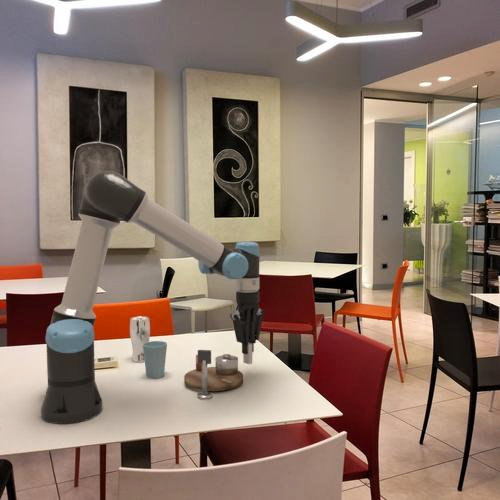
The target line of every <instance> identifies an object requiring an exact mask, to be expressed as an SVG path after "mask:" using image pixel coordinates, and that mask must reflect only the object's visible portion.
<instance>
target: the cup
mask: <svg viewBox="0 0 500 500" xmlns="http://www.w3.org/2000/svg"><path fill="white" fill-rule="evenodd" d="M167 347H168V343H167V342H166V341H162V340H154V341H153V340H151V341H150V340H149V342H146V343H143V352H144V360H145V362H144V367H145V374H146V375H145V376H146V377H147V378H149V379H160V378H162V377H164V376H165V370H166V369H165V367H166V357H167V350H168V349H167Z"/></svg>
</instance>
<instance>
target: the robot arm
mask: <svg viewBox="0 0 500 500" xmlns="http://www.w3.org/2000/svg"><path fill="white" fill-rule="evenodd" d="M77 215H78V217H79V218H80V220H81V225H80V228H79V233H78V237H77V240H76V245H75V249H74V253H73V256H72V260H71V265H70V269H69V272H68V277H67V280H66V284H65V288H64V290H63V291H64V292H63V296H62V300H61V303H60V304H58V305H57V306H56V307H55V308H54V309H53V312H52V316H51V320H50V324H49V325H48V327H47V328H46V333H45V343H46V367H47V368H46V369H47V370H46V373H47V374H46V375H47V376H46V377H47V387H46V391H45V394H44V397H43V399H42V404H41V408H40V413H41V419H42V420H44V421H45V422H48V423H51V424H52V423H53V424H72V423H73V424H74V423H79V422H83V421H86V420H89V419H92V418H95V417H97V416H98V415H100V413H102V412H103V400H102V398H103V397H101V393H100V390H99V389H98V385H97V383H96V373H95V372H96V371H95V366H96V365H95V364H96V363H95V335H96V334H95V330H94V327H95V322H96V318H97V316H96V313H95V312H94V311H93V309H94V303H95V300H96V297H97V296H96V295H97V292H98V288H99V285H100V280H101V276H102V272H103V268H104V264H105V260H106V256H107V252H108V249H109V245H110V240H111V236H112V232H113V230H114V228H117V227H118V226H120V222H121V220H122V221H123V222H125V223H127V224H130V223H133V224H136V225H137V226H139V227H141V228H142V229H144V230H146V231H148V232H150V234H152V235H155V236H156V237H158V238H159V239H161V240H163V241H165V242H167V243H168V244H169V245H171V246H173V247H175V248H176V249H178V250H180V251H182V252H183V253H185V254H187V255H188V256H190V257H192V258H194V259H195V260H197V261H198V269H199V272H200V273H201V274H203V275H214V274H215V275H219V276H222V277H225V278H228V279H229V280H235V290H237V291H236V292H235V301H236V308H235V312H234V313H230V315H229V318H231V321H232V325H233V330H234V334H235V335H234V336H235V339H236V342H237V343H241V353H242V354H243V356H242V357H243V358H242V359H243V364H247V365H252V364H253V353H254V352H255V349H254V348H255V346H254V344H256V343H257V341H259V339H260V334H261V328H262V322H263V317H264V316H265V312H266V311H265V310H264V309H261V308H260V305H259V302H260V291H259V290H260V262H261V261H260V259H261V258H260V257H261V256H260V255H261V254H260V246H259V244H258V243H257V242H254V241H245V242H244V241H243V242H241V241H239V242H236V244H235V247H234V248H231V249H230V248H229V247H227V246H226V245H224V244H223V243H221V242H220V241H218V240H216V239H214V238H213V237H212V236H210V235H209V234H207V233H205V232H203V231H202V230H200V229H199V228H197V227H196V226H194V225H192V224H191V223H189V222H187V221H186V220H184V219H182V218H181V217H179V216H178V215H176V214H174V213H172V211H170V210H168V209H166V208H165V207H163V206H161V205H160V204H158V203H157V202H155V201H154V200H152V199H150V198H149V197H148V193H147V192H146V191H145V190H144V189H141V188H140V187H138V186H137V185H136V184H134V183H133V182H131V181H130V180H129V179H127V178H126V177H125V176H123V175H122V174H121V173H119V172H116V171H113V170H103V171H99V172H97V173H96V174H94V175H93V176H91V177H90V178H88V180H87V181H86V182H85V184H84V186H83V189H82V199H81V202H80V206H79V210H78V213H77Z"/></svg>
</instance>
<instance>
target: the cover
mask: <svg viewBox="0 0 500 500" xmlns="http://www.w3.org/2000/svg"><path fill="white" fill-rule="evenodd" d="M214 360H215V365H214V367H215V371H216V374H217V375H221V376H231V375H235V374H237V373H238V371H239V358H238V357H237V355H232V354H231V353H230V354H229V353H225V354H222V355H218V356H216V357H215V358H214Z"/></svg>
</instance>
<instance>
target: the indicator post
mask: <svg viewBox="0 0 500 500" xmlns="http://www.w3.org/2000/svg"><path fill="white" fill-rule="evenodd" d="M197 355H198V363H199V364H202V390H201V392H198V393H197V394H196V398H197V399H199V400H205V401H206V400H210V399H212V398H213V393H212V392H211V391H208V373H207V367H208V364H209V365H210V364H212V350H210V349H198V350H197Z"/></svg>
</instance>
